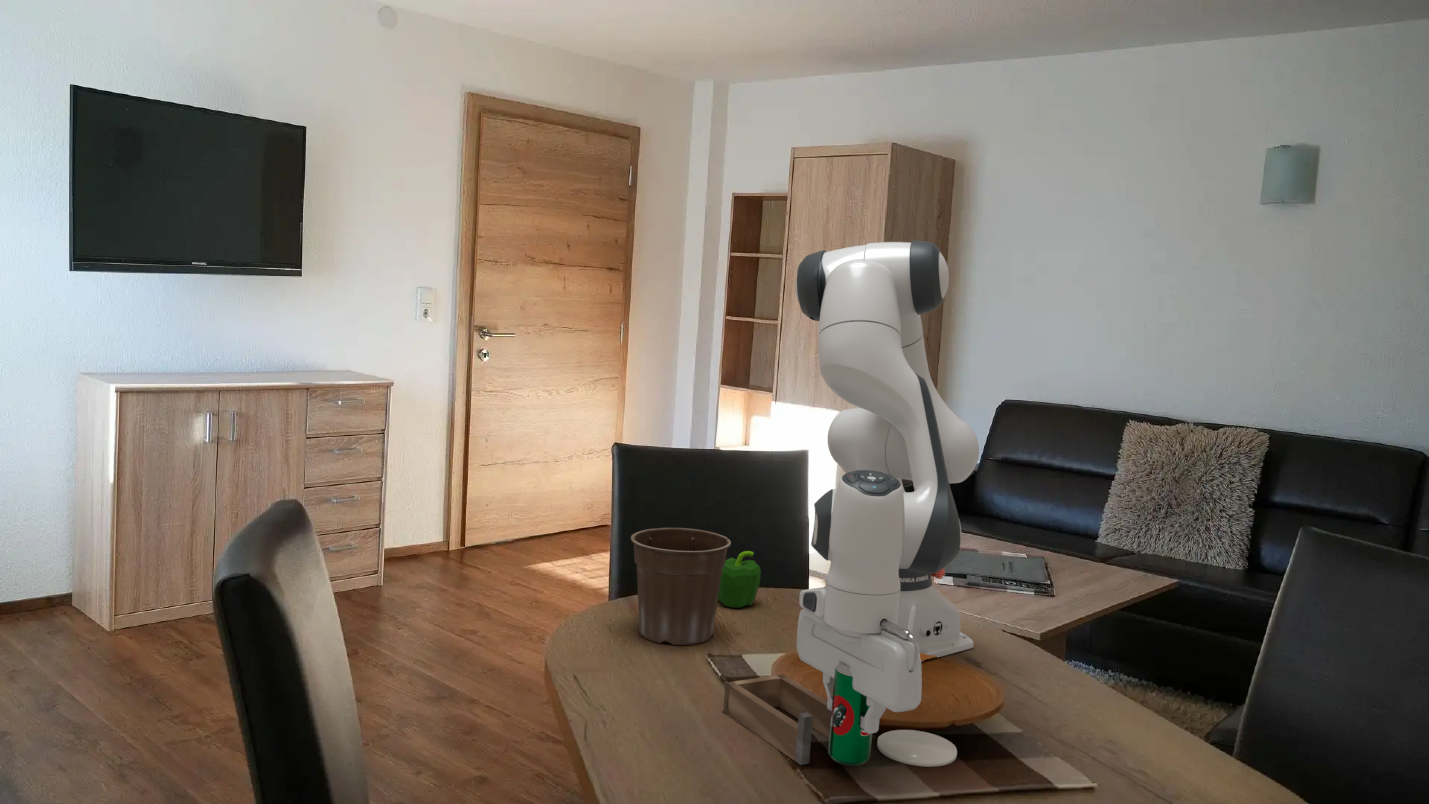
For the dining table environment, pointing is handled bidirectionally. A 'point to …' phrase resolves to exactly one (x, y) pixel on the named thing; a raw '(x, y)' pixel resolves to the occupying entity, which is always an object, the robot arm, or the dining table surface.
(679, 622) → the plant pot
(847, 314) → the robot arm
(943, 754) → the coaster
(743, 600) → the bell pepper
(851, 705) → the soda can
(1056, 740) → the dining table surface
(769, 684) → the dispenser
